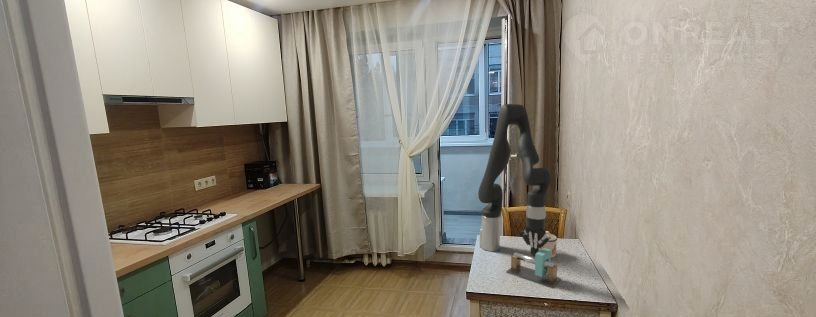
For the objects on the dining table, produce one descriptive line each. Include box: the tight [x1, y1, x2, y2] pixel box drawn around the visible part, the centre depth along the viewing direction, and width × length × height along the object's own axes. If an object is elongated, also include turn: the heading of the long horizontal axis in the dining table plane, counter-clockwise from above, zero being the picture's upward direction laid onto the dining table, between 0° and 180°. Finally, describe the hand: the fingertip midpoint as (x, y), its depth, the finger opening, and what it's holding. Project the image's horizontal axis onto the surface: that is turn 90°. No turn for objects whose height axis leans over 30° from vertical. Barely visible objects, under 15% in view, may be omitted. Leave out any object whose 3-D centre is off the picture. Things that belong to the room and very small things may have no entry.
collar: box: [534, 248, 552, 277], centre depth 149 cm, size 3×8×9 cm, turn 135°
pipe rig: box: [506, 252, 562, 289], centre depth 153 cm, size 20×9×8 cm, turn 45°
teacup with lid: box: [539, 230, 558, 259], centre depth 176 cm, size 12×9×12 cm
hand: (534, 255), depth 151 cm, fingers closed
